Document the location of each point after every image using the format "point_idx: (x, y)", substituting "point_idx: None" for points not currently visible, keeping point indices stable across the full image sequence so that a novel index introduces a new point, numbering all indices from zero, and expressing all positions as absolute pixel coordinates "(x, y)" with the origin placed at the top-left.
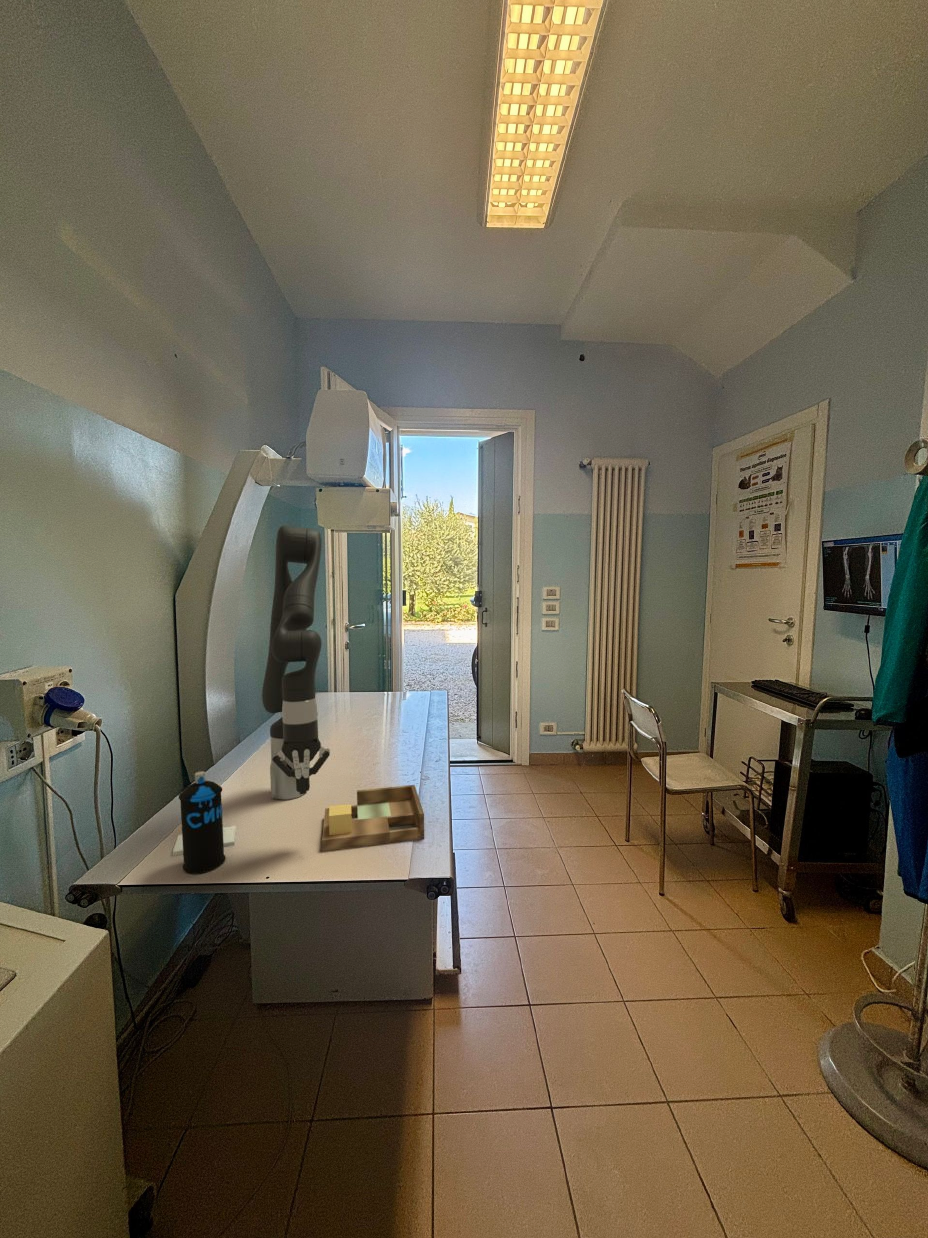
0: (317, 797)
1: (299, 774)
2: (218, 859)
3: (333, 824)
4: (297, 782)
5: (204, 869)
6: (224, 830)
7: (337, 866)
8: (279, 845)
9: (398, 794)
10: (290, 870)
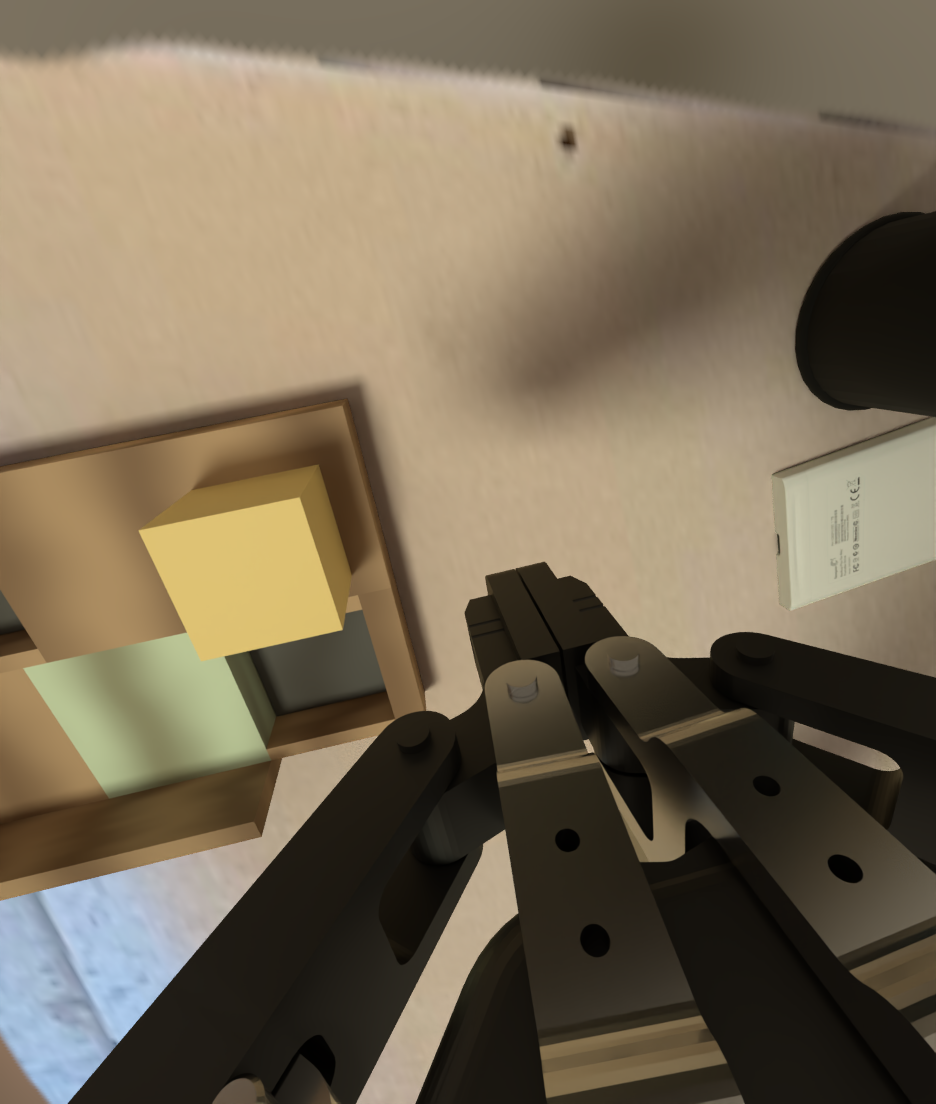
0: (504, 838)
1: (619, 677)
2: (843, 281)
3: (282, 486)
4: (604, 627)
5: (884, 225)
6: (833, 568)
7: (206, 224)
8: (576, 465)
9: (31, 844)
10: (464, 206)
